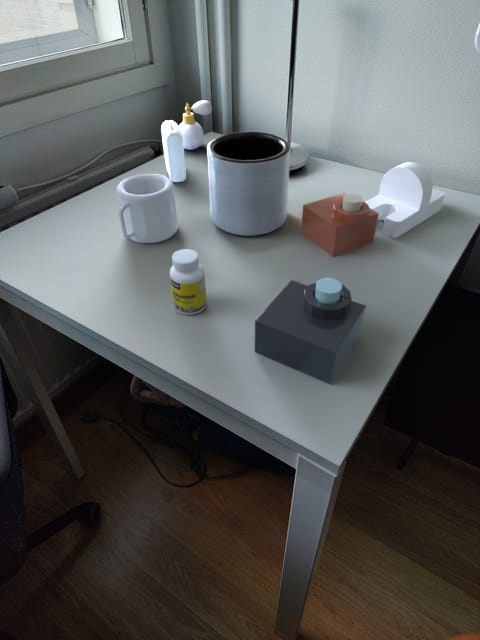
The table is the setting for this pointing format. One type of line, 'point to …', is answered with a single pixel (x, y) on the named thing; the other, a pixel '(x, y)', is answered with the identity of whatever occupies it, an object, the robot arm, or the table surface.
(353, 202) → the round white push button
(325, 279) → the light blue push button
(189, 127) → the perfume bottle
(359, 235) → the orange push button block
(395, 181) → the tape dispenser
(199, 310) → the supplement bottle
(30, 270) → the table surface
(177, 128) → the white rounded-top slab
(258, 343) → the grey push button box
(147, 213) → the mug
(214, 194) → the planter
